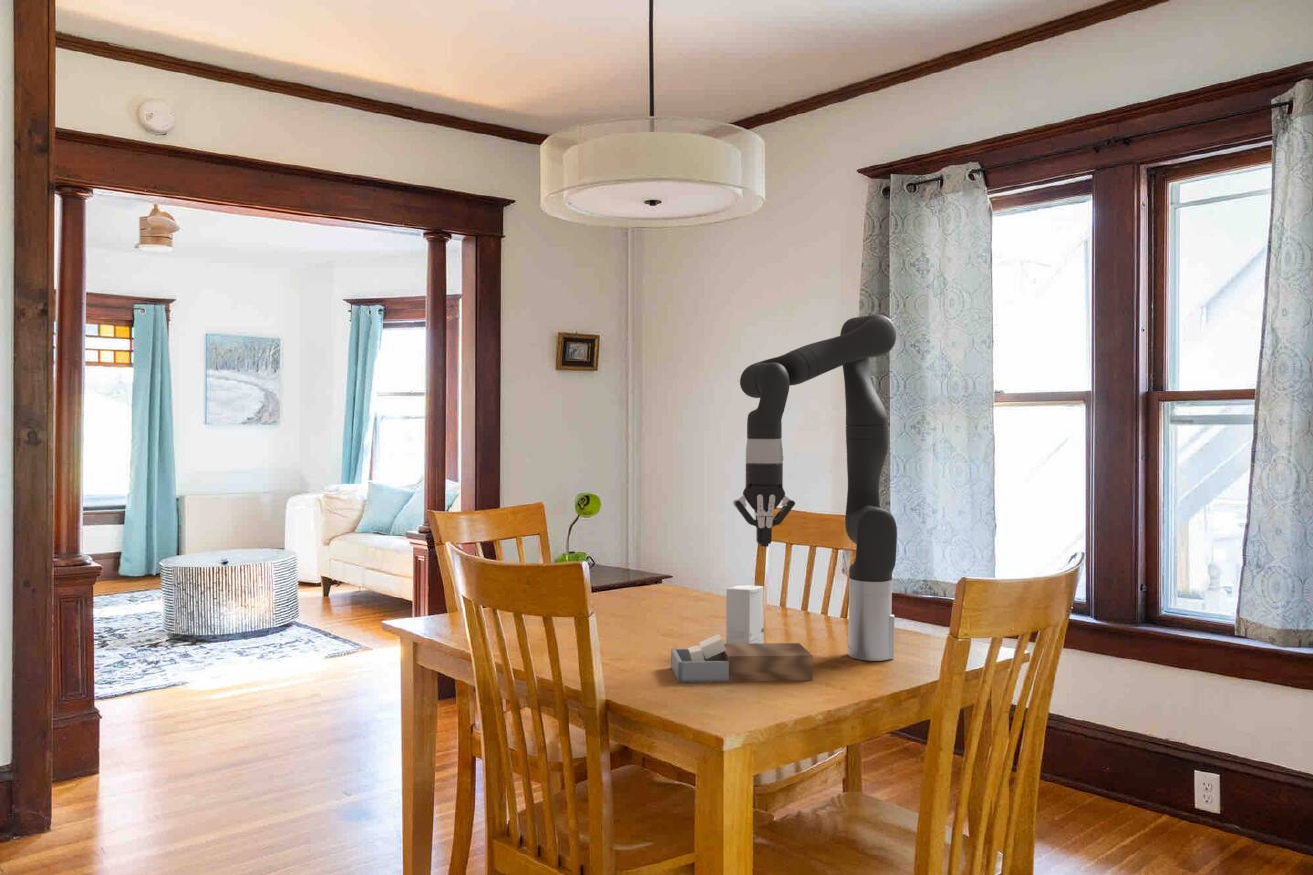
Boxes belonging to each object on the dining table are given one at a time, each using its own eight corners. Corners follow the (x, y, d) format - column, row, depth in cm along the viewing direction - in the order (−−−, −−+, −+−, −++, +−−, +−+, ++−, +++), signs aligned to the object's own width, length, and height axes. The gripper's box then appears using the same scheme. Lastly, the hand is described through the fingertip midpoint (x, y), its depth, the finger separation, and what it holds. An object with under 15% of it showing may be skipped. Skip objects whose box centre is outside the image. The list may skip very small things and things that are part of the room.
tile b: (699, 644, 196) (687, 647, 196) (702, 649, 191) (690, 652, 191) (704, 666, 196) (692, 669, 196) (707, 671, 191) (695, 674, 191)
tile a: (723, 644, 197) (719, 633, 197) (726, 650, 193) (721, 638, 193) (703, 653, 197) (699, 642, 197) (706, 659, 193) (701, 647, 192)
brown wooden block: (798, 666, 201) (798, 642, 201) (812, 680, 190) (812, 655, 190) (718, 667, 199) (719, 643, 199) (728, 681, 188) (728, 656, 188)
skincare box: (749, 658, 208) (750, 590, 208) (724, 654, 211) (725, 587, 211) (764, 650, 215) (765, 585, 215) (740, 647, 218) (741, 582, 218)
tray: (718, 667, 200) (718, 647, 200) (728, 682, 188) (728, 661, 188) (671, 667, 199) (671, 648, 199) (678, 682, 187) (678, 662, 187)
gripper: (791, 460, 199) (791, 543, 199) (728, 460, 197) (728, 544, 197) (800, 461, 191) (800, 548, 191) (735, 461, 190) (735, 548, 190)
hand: (763, 546), depth 194 cm, fingers closed
